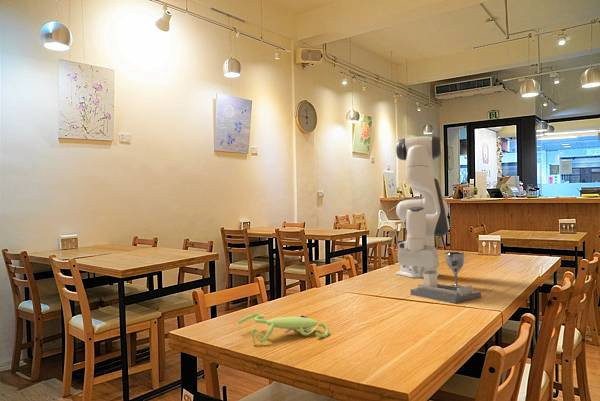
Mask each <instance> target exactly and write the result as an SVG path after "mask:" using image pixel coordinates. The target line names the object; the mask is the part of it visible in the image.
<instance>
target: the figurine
mask: <svg viewBox="0 0 600 401" xmlns="http://www.w3.org/2000/svg"><path fill="white" fill-rule="evenodd" d="M249 319H253V320H254V322H255V323H256V324H264V325H268V326H269V329H268V330H267V332H266V334H265V335H264V336H263V338H262V337H261V336H260V334H259V330H258V328H257V327H254V328H252V329H251V338H252V341H253V345H254V344H255V345H256V340H255V333H257V340H258V341H259V343H260V344H262V343H265V342H267V340H268V339H269V338H270V336H271V334H272V332H273V330H274V329H276V328H277V329H283V330H284V329H286V330H285V331H283V333H284V334H288V333H289V332H291V331H293V330H298V331H299V333H300V334H301V335H302V336H303V337H306V336H308V335H310V334H312V333H313V332H314V331H315V330H316V329H317V327H318V326H319V327H321V328H323V329H324V333H319V332H318V331H315V334H314V335H315V336H317V337H318V338H321V339H324V338H327V337H328V336H329V334H330V329H329V327H328V326H327V324H326V323H321V322H320V323H319V322H318V321H317V320H315V319H312V318H308V316H306V315H300V316H285V317H284V316H281V317H275V318H271V319H265V315H264V314H260V313H257V314H256V313H254V314H249V315H247V316H245V317H243V318H241V319H239V320H238V325H240V324H242V323H244V322H246V321H249ZM313 327H314V328H313ZM312 328H313V329H312ZM311 329H312V330H311ZM304 330H305V331H304ZM326 336H327V337H326ZM323 337H324V338H323Z"/></svg>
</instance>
